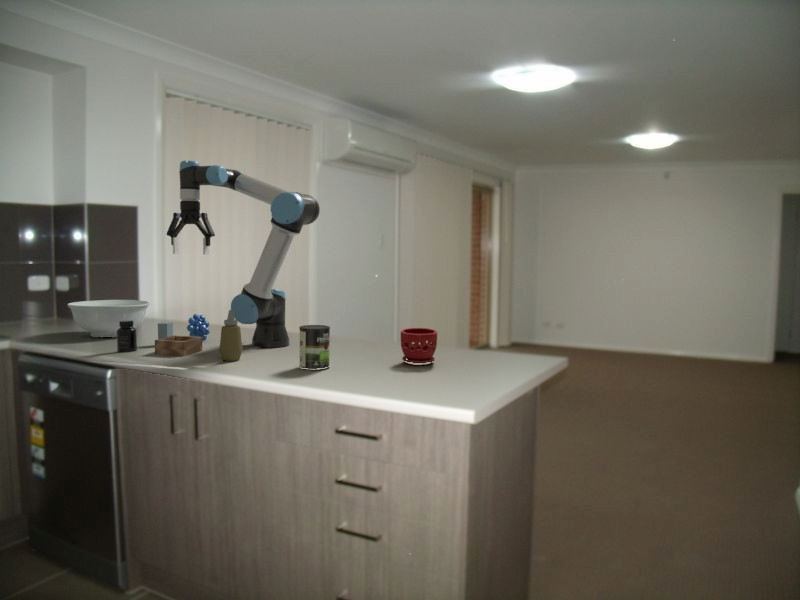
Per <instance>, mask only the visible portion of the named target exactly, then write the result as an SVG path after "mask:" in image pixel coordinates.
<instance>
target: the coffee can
mask: <svg viewBox="0 0 800 600" xmlns="http://www.w3.org/2000/svg"><path fill="white" fill-rule="evenodd" d="M298 329H299V367H301V368H308V369H317V368H325V367H328V366H329V367H330V338H331V335H330V331H331V330H330V329H331V326H329V325H324V324H306V325H304V324H303V325H300V326H299V328H298Z"/></svg>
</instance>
